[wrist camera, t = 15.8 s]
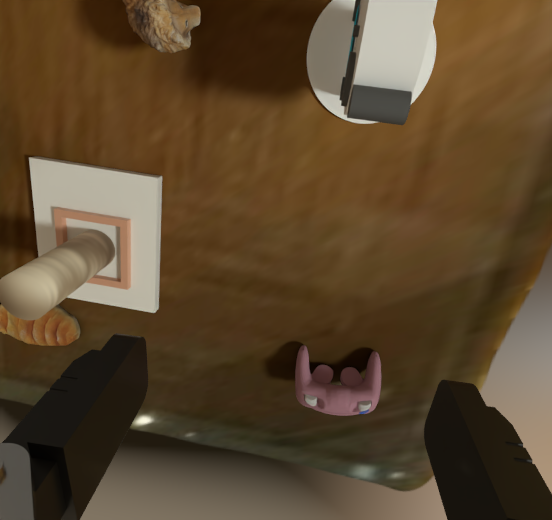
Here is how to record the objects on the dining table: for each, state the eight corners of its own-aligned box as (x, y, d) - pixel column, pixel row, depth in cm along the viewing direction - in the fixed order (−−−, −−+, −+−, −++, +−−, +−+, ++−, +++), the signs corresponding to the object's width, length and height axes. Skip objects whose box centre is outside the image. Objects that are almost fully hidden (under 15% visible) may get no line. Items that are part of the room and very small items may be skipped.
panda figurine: (318, -34, 33) (315, -139, 19) (453, -19, 33) (550, -117, 19) (298, 115, 38) (284, 116, 24) (416, 130, 37) (473, 141, 23)
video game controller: (296, 359, 49) (292, 415, 45) (297, 341, 46) (292, 398, 41) (376, 367, 48) (379, 424, 44) (382, 348, 45) (387, 408, 40)
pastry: (87, 307, 49) (68, 322, 45) (80, 349, 51) (62, 367, 48) (15, 281, 48) (-9, 295, 45) (12, 325, 51) (-11, 341, 47)
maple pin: (76, 226, 43) (-6, 269, 32) (115, 233, 43) (46, 279, 32) (77, 262, 45) (-1, 314, 34) (115, 269, 45) (49, 324, 33)
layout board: (36, 156, 42) (23, 158, 40) (162, 176, 41) (154, 179, 39) (48, 288, 48) (37, 295, 46) (158, 308, 47) (151, 316, 45)
